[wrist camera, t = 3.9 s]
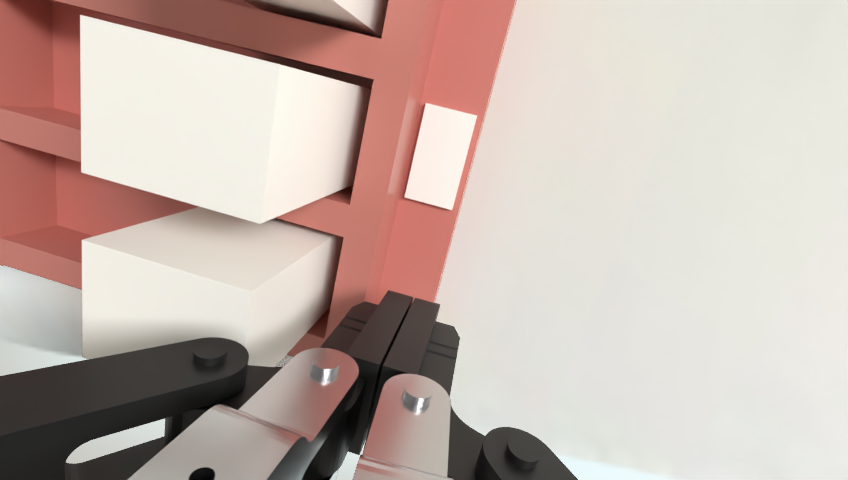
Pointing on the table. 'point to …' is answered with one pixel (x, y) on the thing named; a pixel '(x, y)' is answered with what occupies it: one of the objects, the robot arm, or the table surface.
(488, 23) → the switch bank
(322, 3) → the tab
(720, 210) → the table surface
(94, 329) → the tab
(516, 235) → the table surface
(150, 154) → the tab
